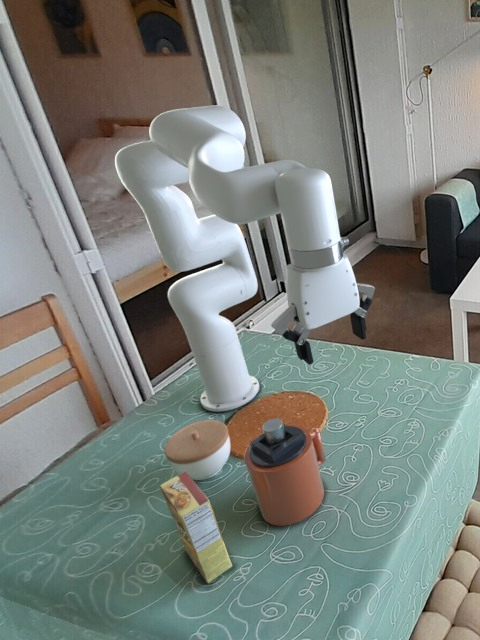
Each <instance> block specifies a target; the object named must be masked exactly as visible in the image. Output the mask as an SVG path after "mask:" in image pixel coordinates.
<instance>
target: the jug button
mask: <svg viewBox="0 0 480 640" xmlns="http://www.w3.org/2000/svg"><path fill="white" fill-rule="evenodd" d="M283 424H284V422H283V420H282V419H280V418H271V419H269V420H267V421H266V422H264V423H263V425H262V433H264V436H265V439H266V442H267V443H268V444H269V445H276V444H279V443H281V442H282V441H283V440H284V439H285V438H286V433H285V429H284V425H283Z"/></svg>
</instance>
